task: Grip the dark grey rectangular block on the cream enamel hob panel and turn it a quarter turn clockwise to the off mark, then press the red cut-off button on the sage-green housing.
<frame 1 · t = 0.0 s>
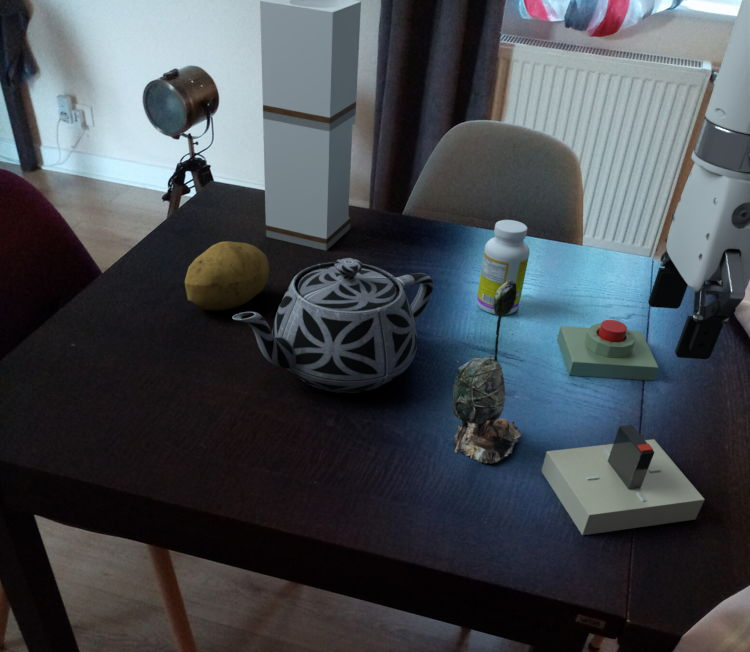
hand: (676, 330, 76), 21 cm above the table, tool pointing down, fingers open, 9 cm apart
cutoff housing: (604, 359, 112), on the table
banded white pillar: (308, 233, 138), on the table
teapot: (337, 370, 106), on the table
dark grey rectangular block: (630, 456, 86), point 6 cm above the table, hinge at 90.0°
supplement bottle: (496, 307, 122), on the table
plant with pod: (479, 445, 95), on the table
cutoff button: (612, 331, 109), point 4 cm above the table, slide at 0.1 cm
potato: (228, 305, 117), on the table
hob panel: (616, 494, 90), on the table
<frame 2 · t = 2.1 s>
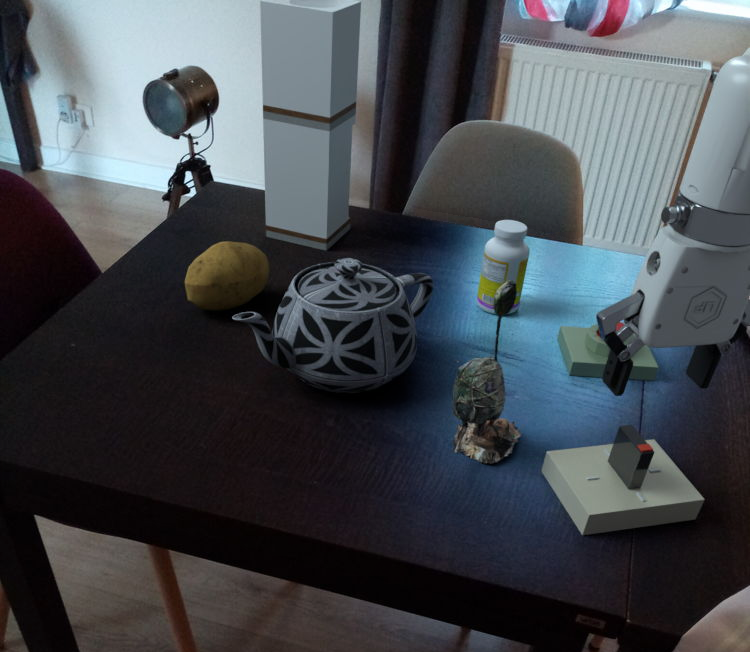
hand: (654, 384, 80), 15 cm above the table, tool pointing down, fingers open, 9 cm apart
nothing on the table moved.
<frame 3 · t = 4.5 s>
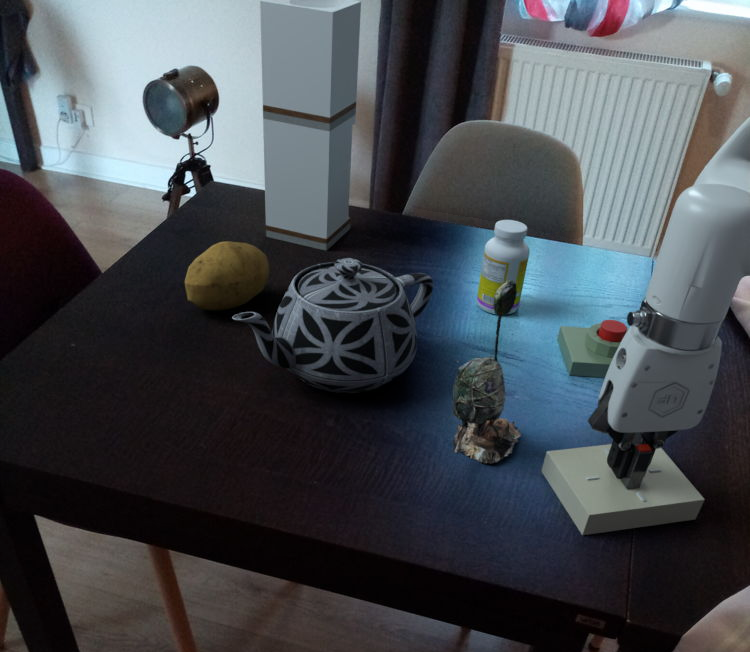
hand: (625, 469, 87), 4 cm above the table, tool pointing down, fingers closed on dark grey rectangular block
dark grey rectangular block: (630, 456, 86), point 6 cm above the table, hinge at 85.0°, touching gripper
everything else where it was.
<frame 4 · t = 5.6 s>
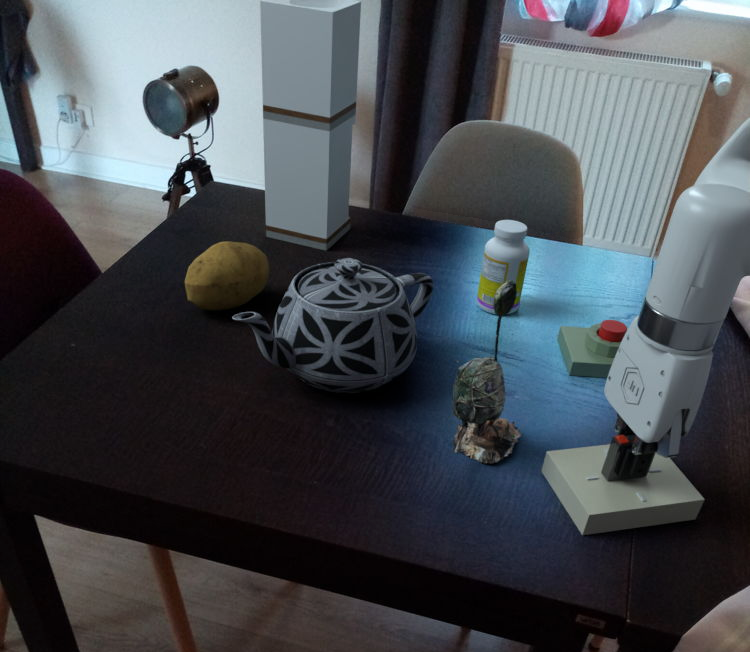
hand: (625, 469, 87), 4 cm above the table, tool pointing down, fingers closed on dark grey rectangular block
dark grey rectangular block: (630, 456, 86), point 6 cm above the table, hinge at 0.5°, touching gripper
everything else where it was.
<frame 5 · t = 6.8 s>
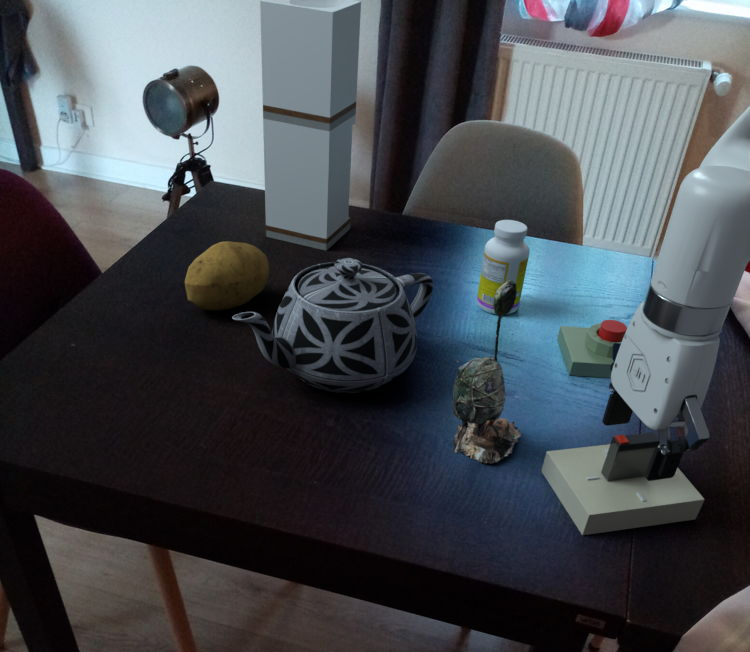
hand: (636, 449, 85), 6 cm above the table, tool pointing down, fingers open, 9 cm apart
dark grey rectangular block: (630, 456, 86), point 6 cm above the table, hinge at 0.4°
everything else where it was.
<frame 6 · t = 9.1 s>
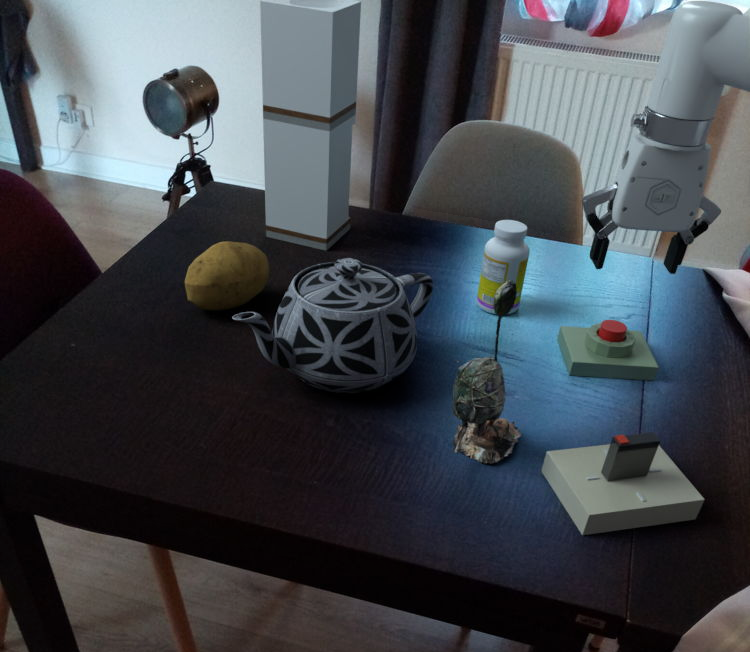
hand: (632, 267, 102), 14 cm above the table, tool pointing down, fingers open, 9 cm apart
nothing on the table moved.
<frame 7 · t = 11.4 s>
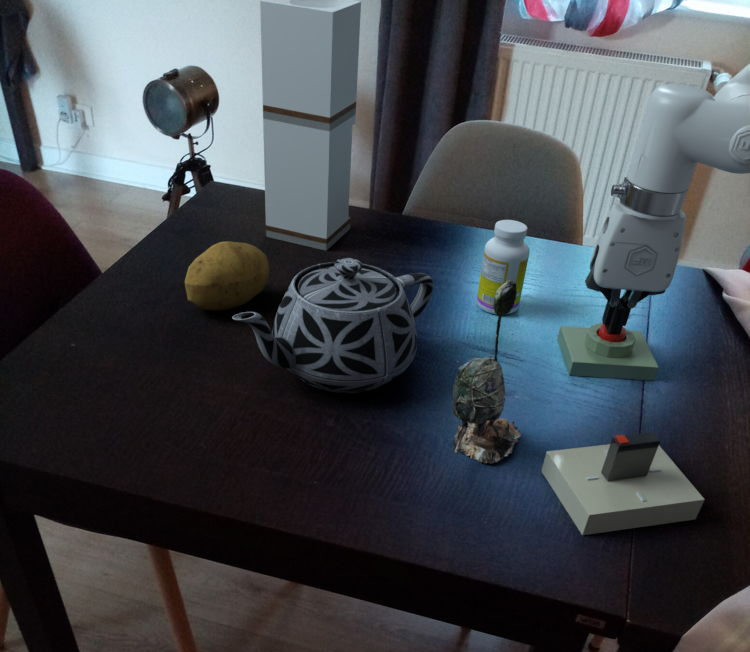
hand: (611, 328, 109), 5 cm above the table, tool pointing down, fingers closed
cutoff button: (611, 335, 110), point 4 cm above the table, slide at -0.5 cm, touching gripper
everything else where it was.
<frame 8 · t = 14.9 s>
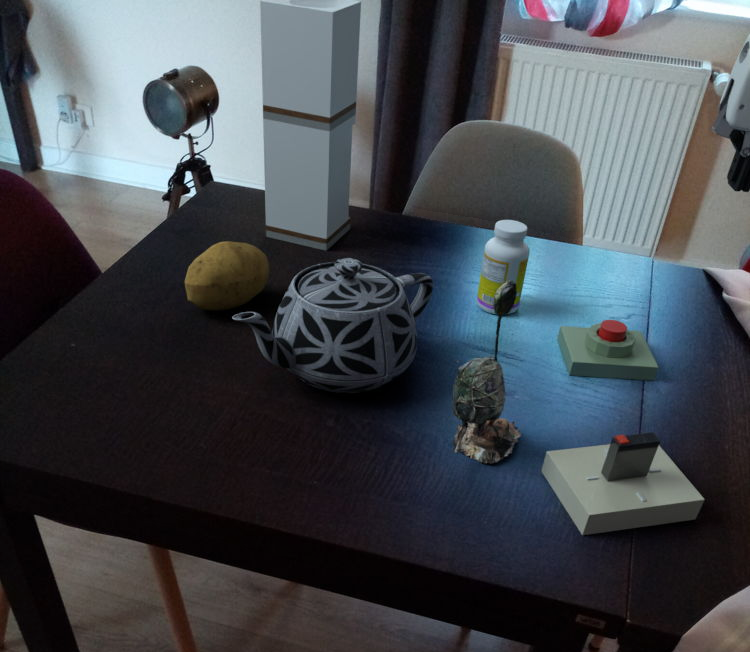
hand: (737, 187, 96), 25 cm above the table, tool pointing down, fingers closed
cutoff button: (612, 331, 109), point 4 cm above the table, slide at 0.1 cm
everything else where it was.
at the end: dark grey rectangular block at +0° (first picture: +90°); cutoff button pushed in 1.1 cm at the most during the clip, back to where it started at the end; cutoff button slide at 0.1 cm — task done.
